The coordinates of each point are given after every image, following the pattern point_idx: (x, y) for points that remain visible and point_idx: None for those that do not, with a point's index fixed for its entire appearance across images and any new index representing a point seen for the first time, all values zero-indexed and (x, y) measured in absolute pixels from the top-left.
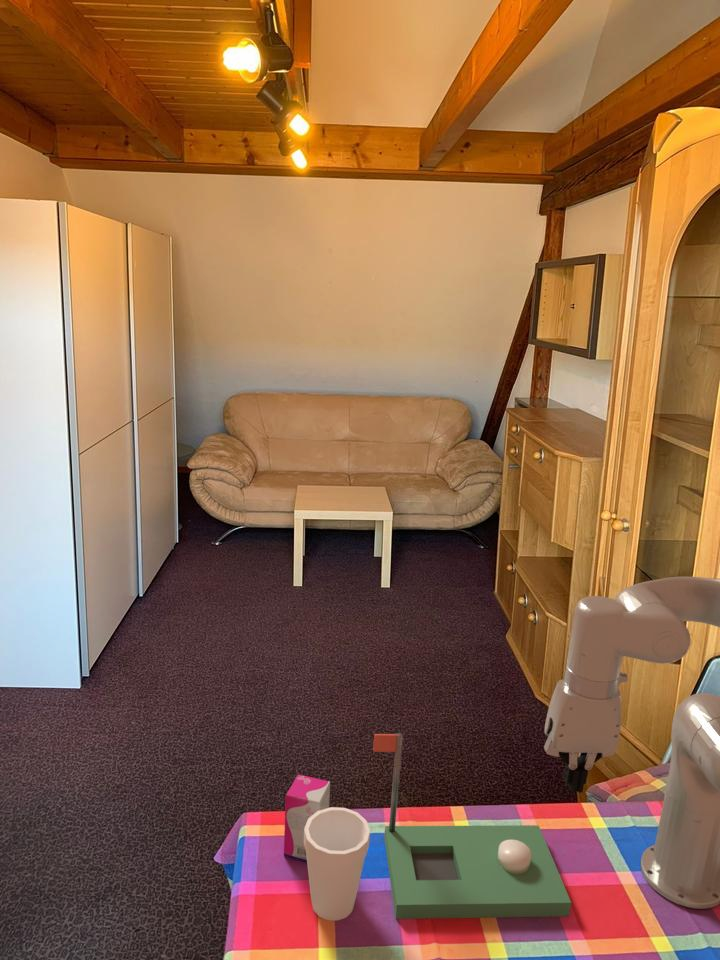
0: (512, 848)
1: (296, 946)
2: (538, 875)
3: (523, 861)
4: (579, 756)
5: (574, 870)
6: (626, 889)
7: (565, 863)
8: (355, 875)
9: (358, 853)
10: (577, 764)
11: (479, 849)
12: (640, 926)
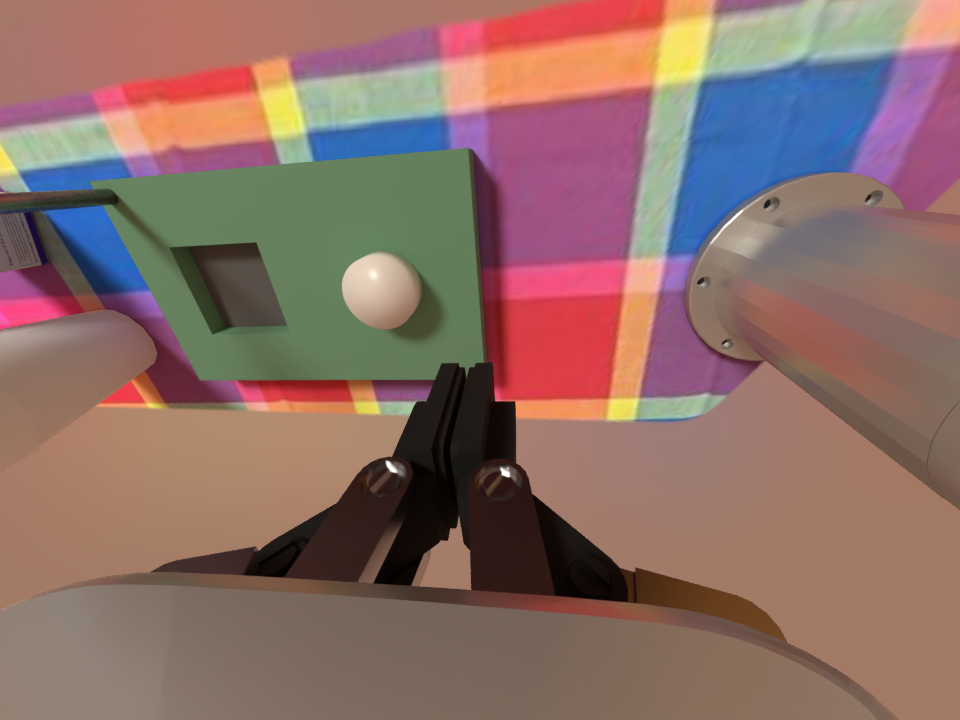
0: (372, 287)
1: (120, 401)
2: (436, 321)
3: (394, 324)
4: (466, 508)
5: (534, 259)
6: (625, 307)
7: (521, 239)
8: (74, 418)
9: (10, 466)
10: (438, 540)
11: (314, 251)
12: (605, 382)
